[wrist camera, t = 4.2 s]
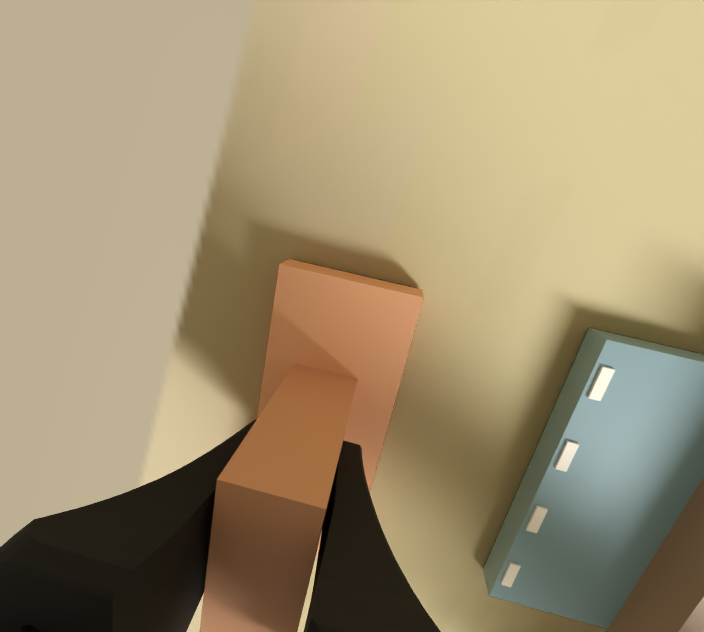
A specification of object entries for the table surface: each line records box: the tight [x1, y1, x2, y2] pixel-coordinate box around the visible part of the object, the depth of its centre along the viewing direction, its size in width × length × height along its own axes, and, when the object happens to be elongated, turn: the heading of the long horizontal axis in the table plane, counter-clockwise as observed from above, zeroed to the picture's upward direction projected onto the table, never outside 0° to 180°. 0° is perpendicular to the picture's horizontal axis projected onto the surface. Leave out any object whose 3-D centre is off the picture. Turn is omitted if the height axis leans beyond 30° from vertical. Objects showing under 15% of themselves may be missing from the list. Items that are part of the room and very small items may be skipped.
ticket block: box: [483, 328, 704, 632], centre depth 13 cm, size 8×13×3 cm, turn 168°
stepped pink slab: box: [200, 259, 424, 632], centre depth 12 cm, size 5×12×7 cm, turn 168°
